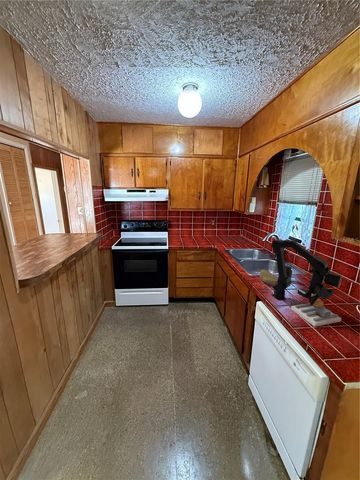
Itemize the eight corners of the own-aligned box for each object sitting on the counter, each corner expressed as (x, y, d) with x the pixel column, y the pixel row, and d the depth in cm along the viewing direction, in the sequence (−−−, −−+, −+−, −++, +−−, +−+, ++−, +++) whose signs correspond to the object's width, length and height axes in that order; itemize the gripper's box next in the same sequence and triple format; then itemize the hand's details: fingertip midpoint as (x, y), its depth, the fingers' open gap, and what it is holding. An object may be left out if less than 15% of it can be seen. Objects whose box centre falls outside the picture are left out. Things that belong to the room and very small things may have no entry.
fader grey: (315, 313, 111) (316, 307, 110) (320, 312, 112) (322, 306, 111) (323, 319, 106) (324, 312, 105) (329, 318, 107) (330, 311, 106)
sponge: (257, 276, 164) (259, 282, 145) (260, 268, 163) (262, 272, 144) (274, 282, 160) (278, 288, 141) (277, 273, 159) (281, 278, 140)
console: (291, 308, 119) (291, 304, 118) (314, 305, 123) (315, 300, 122) (314, 326, 104) (315, 321, 103) (340, 321, 108) (342, 316, 107)
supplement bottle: (287, 278, 159) (290, 264, 156) (292, 282, 152) (295, 268, 149) (279, 278, 159) (281, 264, 156) (284, 282, 152) (286, 268, 149)
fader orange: (309, 304, 119) (310, 298, 118) (314, 303, 120) (316, 297, 119) (316, 309, 115) (318, 303, 114) (322, 308, 116) (323, 302, 115)
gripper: (316, 289, 102) (310, 315, 106) (343, 285, 107) (337, 310, 111) (299, 279, 113) (294, 303, 117) (324, 276, 117) (319, 299, 121)
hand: (311, 304), depth 116 cm, fingers closed
